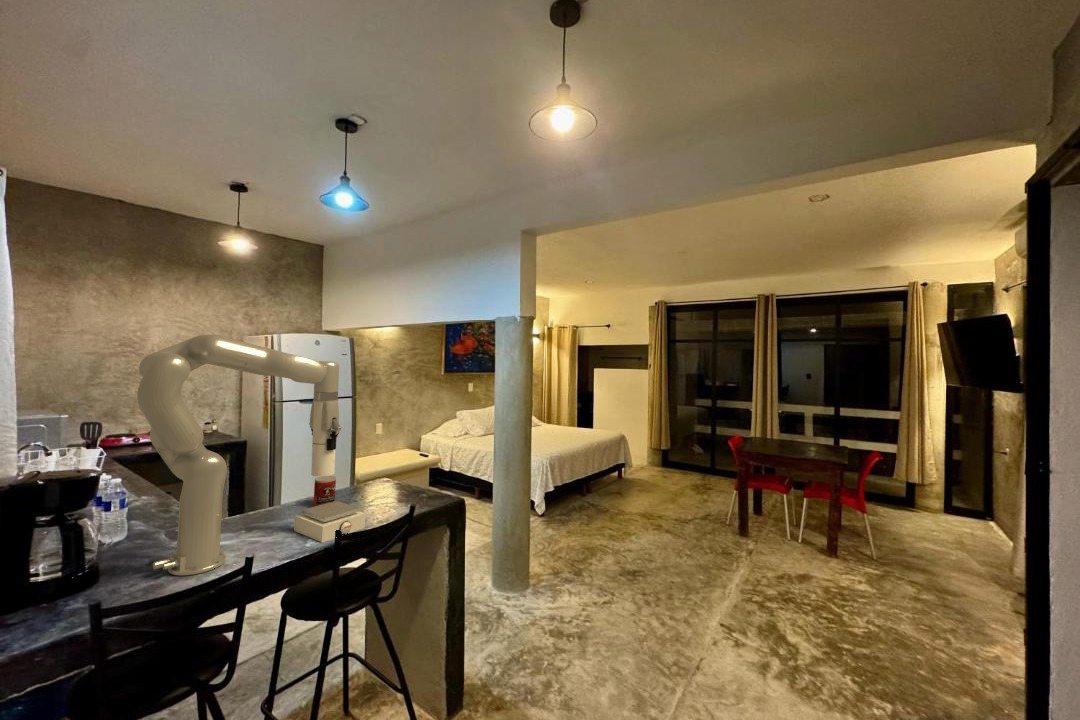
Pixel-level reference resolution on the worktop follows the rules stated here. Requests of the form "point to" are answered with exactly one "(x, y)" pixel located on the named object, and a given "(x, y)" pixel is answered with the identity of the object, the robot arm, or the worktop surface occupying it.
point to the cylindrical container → (321, 446)
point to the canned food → (324, 490)
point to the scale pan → (330, 511)
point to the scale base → (328, 526)
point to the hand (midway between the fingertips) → (324, 448)
